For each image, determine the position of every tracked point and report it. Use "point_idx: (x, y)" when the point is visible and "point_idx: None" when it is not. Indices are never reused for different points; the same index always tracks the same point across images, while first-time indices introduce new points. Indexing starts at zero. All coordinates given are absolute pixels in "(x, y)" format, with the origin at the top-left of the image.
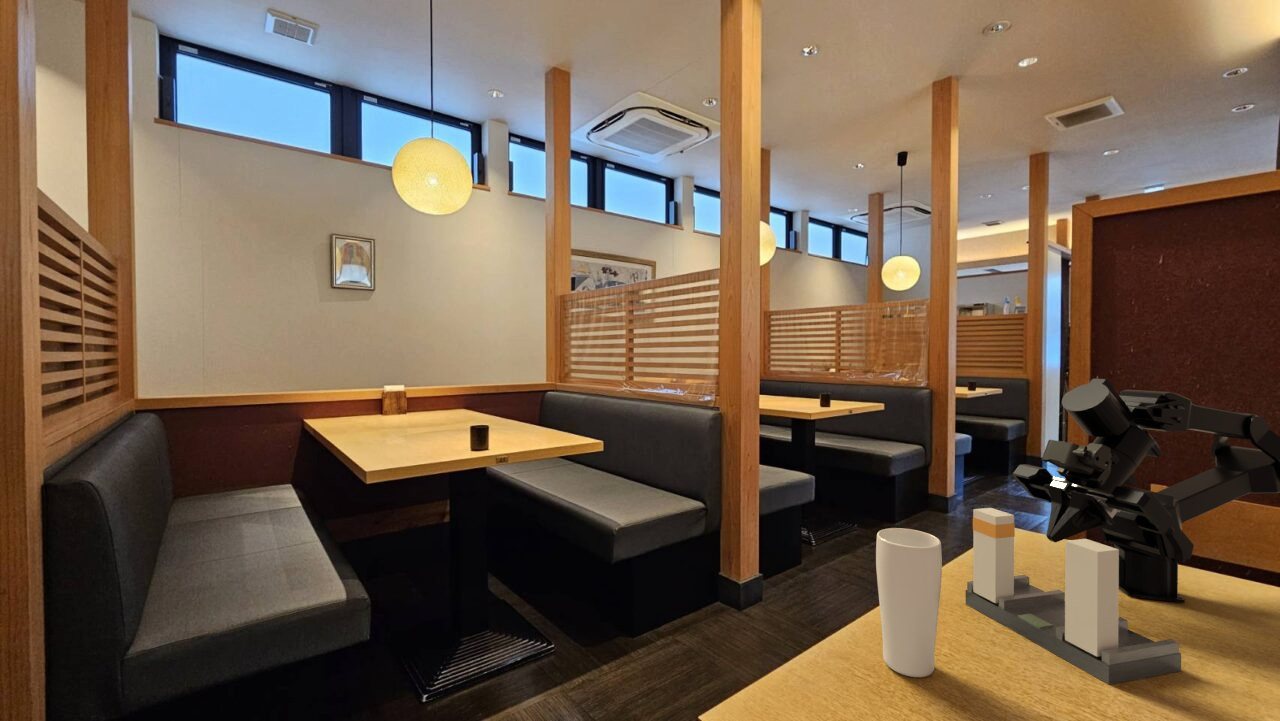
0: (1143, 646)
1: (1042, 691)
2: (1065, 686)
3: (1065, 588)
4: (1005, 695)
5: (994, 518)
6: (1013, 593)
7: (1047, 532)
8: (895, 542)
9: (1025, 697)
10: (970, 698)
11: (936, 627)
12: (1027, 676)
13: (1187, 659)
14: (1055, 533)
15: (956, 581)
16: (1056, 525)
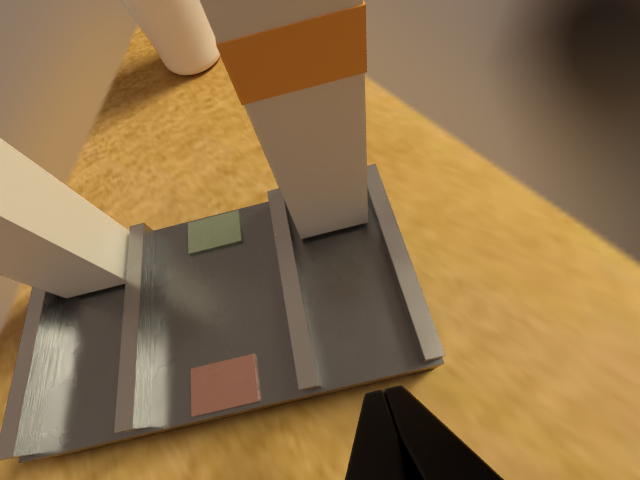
0: (26, 345)
1: (107, 169)
2: (104, 204)
3: (38, 166)
4: (117, 127)
5: None
6: (296, 228)
7: (412, 399)
8: None
9: (106, 145)
10: (125, 94)
11: (130, 12)
12: (138, 170)
13: None
14: (362, 420)
15: (516, 233)
16: (395, 463)
